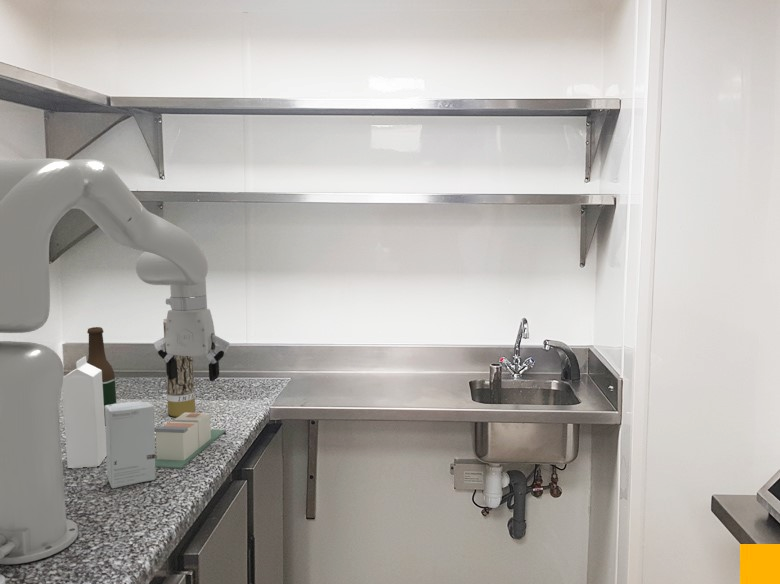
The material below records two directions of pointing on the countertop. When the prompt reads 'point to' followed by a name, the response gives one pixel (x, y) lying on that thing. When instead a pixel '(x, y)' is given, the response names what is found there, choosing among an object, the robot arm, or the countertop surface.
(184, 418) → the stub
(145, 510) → the countertop surface
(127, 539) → the countertop surface
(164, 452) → the lidded cream box
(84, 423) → the milk
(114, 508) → the countertop surface
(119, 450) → the skincare box
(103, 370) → the beer bottle
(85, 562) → the countertop surface
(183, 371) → the paper tube
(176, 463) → the mat
